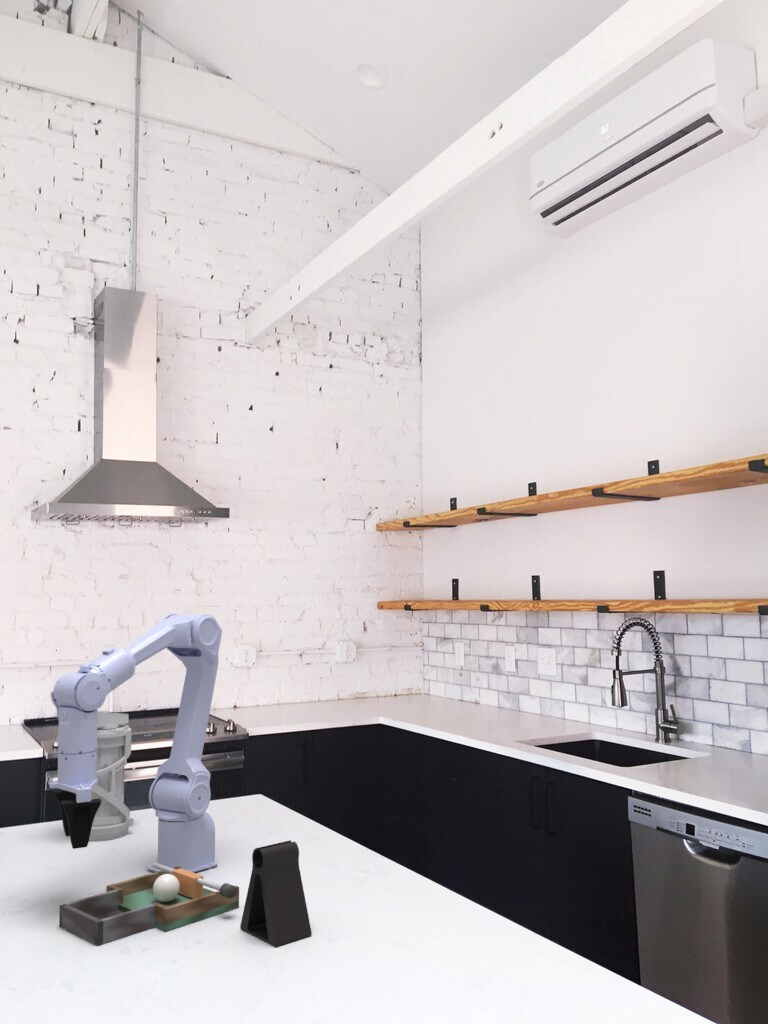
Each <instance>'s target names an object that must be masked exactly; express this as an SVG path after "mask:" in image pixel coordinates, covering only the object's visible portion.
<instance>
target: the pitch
mask: <svg viewBox="0 0 768 1024" xmlns="http://www.w3.org/2000/svg"><path fill="white" fill-rule="evenodd" d="M180 868H181V867H179V866H177V867H173V869H175V870H176V869H180ZM164 874H170V873H167V872H164V871H159V872H152V873H148V874H144V875H140V876H137V877H134V878H133V877H132V878H129V879H126V880H122V881H119V882H115V883H112V884H108V885H106V892H102V893H98V894H95V895H91V896H88V897H84V898H80V899H77V900H74V901H70V902H69V901H68V902H66V903H63V904H59V922H58V923H59V925H58V927H59V928H61V929H63V930H65V931H67V932H70V933H71V934H73V935H75V936H77V937H79V938H80V939H83V940H85V941H88V942H89V943H91V944H93V945H95V946H101V945H105V944H107V943H110V942H114V941H116V940H119V939H120V940H121V939H122V938H126V937H128V936H131V935H135V934H138V933H141V932H144V931H148V930H149V929H153V928H156V929H158V930H161V931H162V932H165V933H166V932H169V931H172V930H176V929H178V928H182V927H184V926H186V925H189V924H193V923H197V922H199V921H202V920H205V919H208V918H211V917H214V916H217V915H220V914H223V913H226V912H229V911H232V910H235V909H238V908H239V907H240V886H239V885H234V886H235V887H236V894H235V896H234V897H233V898H227V897H224V896H222V895H221V894H220V891H218V890H216V891H214V890H211V889H208V888H205V887H203V896H201V897H198V898H195V899H193V898H191V897H188V896H185V895H183V894H180V893H178V895H177V896H176V898H175V899H173V900H172V901H170V902H160V901H158V900H157V899H156V898H155V896H154V894H153V885H154V883H155V881H156V879H157V878H158V877H160V876H161V875H164Z"/></svg>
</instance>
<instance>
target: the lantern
mask: <svg viewBox="0 0 768 1024" xmlns="http://www.w3.org/2000/svg"><path fill="white" fill-rule="evenodd" d="M129 720H130V719H129V713H122V712H114V711H110V712H108V711H106V710H105V711H104V710H98V714H97V777H96V778H98V784H97V785H96V786H95V787H94V788H93V789H92V790H91V799H101V805H100V807H99V809H98V810H97V813H96V815H95V817H94V820H93V824H92V828H91V833H90V838H89V842H105V841H111V840H116V839H119V838H122V837H125V836H126V835H127V834H128V831H129V828H131V827H132V826H133V825H135V824H134V823H135V819H134V818H132V817H130V816H131V811H130V809H129V807H128V806H127V805H126V804H125V802H124V800H125V798H124V797H125V767H126V765H127V764H128V763H127V761H128V760H127V759H129V757H130V756H131V754H132V728H131V727H130V726H129Z"/></svg>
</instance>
